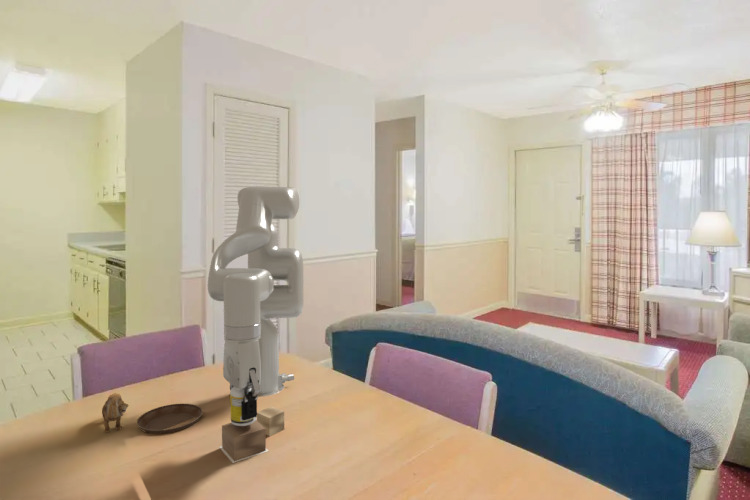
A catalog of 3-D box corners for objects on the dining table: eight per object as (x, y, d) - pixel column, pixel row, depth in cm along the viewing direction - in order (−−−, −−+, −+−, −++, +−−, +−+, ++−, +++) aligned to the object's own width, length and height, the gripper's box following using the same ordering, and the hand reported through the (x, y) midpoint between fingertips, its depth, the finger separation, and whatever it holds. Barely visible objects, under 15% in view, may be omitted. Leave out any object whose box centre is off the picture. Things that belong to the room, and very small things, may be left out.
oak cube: (271, 424, 112) (271, 406, 112) (284, 429, 109) (284, 411, 109) (257, 430, 108) (256, 412, 108) (269, 436, 106) (269, 417, 105)
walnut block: (252, 437, 105) (252, 416, 104) (265, 450, 99) (265, 428, 99) (222, 447, 101) (221, 425, 100) (234, 461, 95) (233, 438, 95)
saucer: (122, 434, 109) (122, 423, 109) (170, 409, 123) (169, 399, 123) (171, 445, 104) (171, 434, 104) (215, 418, 118) (215, 408, 117)
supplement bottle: (240, 413, 103) (240, 371, 102) (261, 417, 101) (261, 374, 100) (225, 424, 98) (224, 380, 97) (246, 428, 96) (246, 383, 95)
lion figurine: (130, 433, 109) (128, 397, 108) (104, 439, 106) (102, 402, 105) (122, 411, 121) (121, 377, 120) (99, 415, 118) (98, 381, 117)
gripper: (211, 325, 102) (212, 403, 104) (241, 343, 89) (242, 433, 90) (243, 320, 107) (244, 395, 108) (276, 337, 93) (277, 422, 95)
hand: (243, 412), depth 99 cm, fingers closed on supplement bottle, 5 cm apart
